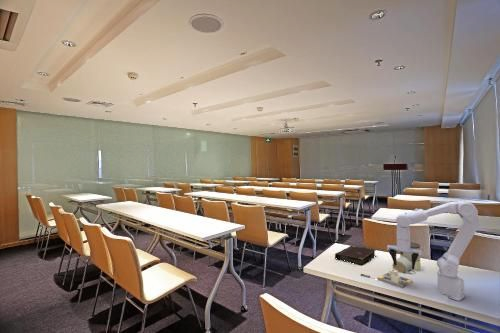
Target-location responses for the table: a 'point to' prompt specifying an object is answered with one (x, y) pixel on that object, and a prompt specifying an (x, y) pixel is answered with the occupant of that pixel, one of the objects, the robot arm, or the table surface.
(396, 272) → the tab
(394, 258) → the robot arm
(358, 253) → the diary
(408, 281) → the switch bank
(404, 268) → the ceramic mug
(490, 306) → the table surface
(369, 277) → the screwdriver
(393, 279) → the tab
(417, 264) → the coffee can
